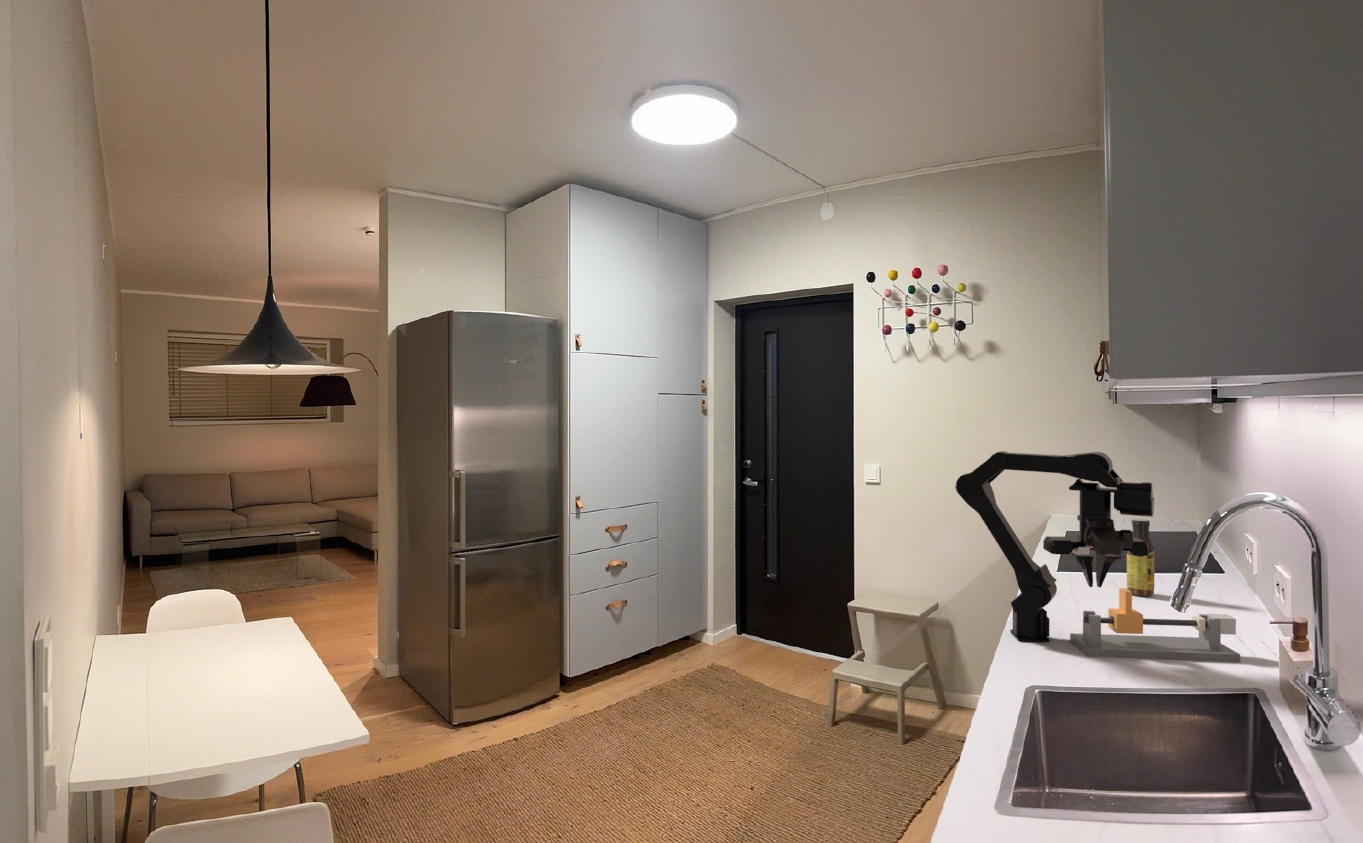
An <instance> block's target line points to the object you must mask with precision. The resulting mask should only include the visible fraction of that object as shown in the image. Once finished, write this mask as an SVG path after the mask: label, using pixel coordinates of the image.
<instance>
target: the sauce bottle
mask: <svg viewBox="0 0 1363 843" xmlns="http://www.w3.org/2000/svg"><path fill="white" fill-rule="evenodd" d="M1131 525H1132V533H1133V538H1138V539H1140V540H1143V541H1145V542H1146V543H1147V544H1148V546H1149V556H1134V555H1132V554H1131V553H1130V552H1129V551H1126V589H1128V590H1129V591H1131V592H1132V596H1138V597H1151V596H1152V597H1153V595H1154V594H1155V593H1154V592H1155V591H1154V590H1155V566H1156V565H1155V549H1154V548H1155V547H1154V546H1153V544H1152V541H1151V538H1150V526H1151V523H1150V520H1149V519H1143V518H1132V519H1131Z"/></svg>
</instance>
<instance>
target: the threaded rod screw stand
mask: <svg viewBox="0 0 1363 843" xmlns="http://www.w3.org/2000/svg"><path fill="white" fill-rule="evenodd" d="M1082 612H1083V614H1082V615H1083V616H1082V633H1073V632H1071V633H1069V634H1070V635H1069V640H1070V642H1071V643H1073V644H1074V645H1075V646H1076V647H1078V649H1079V650H1081V652H1082V653H1084V654H1085V655H1086V656H1087V657H1096V656H1104V657H1103V658H1123V659H1124V658H1125V659H1126V658H1127V659H1154V660H1155V659H1156V660H1157V659H1158V660H1177V661H1179V660H1180V661H1181V660H1182V661H1201V662H1202V661H1206V662H1207V661H1208V662H1229V663H1230V662H1231V663H1232V662H1233V663H1235V662H1236V663H1241V654H1240V653H1239V652H1237V651H1236V650H1234V649H1232V648H1230V647H1228V646H1226V645H1225V644H1223V643H1221V642H1222V641H1221V635H1233V636H1235V635H1236V634H1237V630H1236V629H1237V618H1235V617H1233V616H1231V615H1229V614H1228V613H1227V614H1226V613H1199V614H1198V615H1192V619H1171V618H1170V619H1167V618H1164V619H1163V618H1143V626H1145V625H1146V626H1148V625H1149V626H1173V627H1174V626H1176V627H1177V626H1179V627H1181V626H1182V627H1192V628H1193V629H1195V630H1197V631H1198V637H1191V636H1165V635H1163V636H1160V635H1137V634H1105V633H1104V634H1102V624H1114V618H1108V617H1104V616H1103V617H1102V616H1101V615H1100V614H1096V612H1095V611H1094V610H1083V611H1082Z"/></svg>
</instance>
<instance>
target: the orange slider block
mask: <svg viewBox="0 0 1363 843" xmlns="http://www.w3.org/2000/svg"><path fill="white" fill-rule="evenodd" d="M1118 594H1119V595H1118V598H1119V599H1118V608H1108V610H1107V611H1108V612H1107V614H1108V616H1107V618H1114V624H1108V623H1107V624H1108V629H1110V630H1112V632H1114V633H1115V634H1124V635H1143V634H1144V625H1143V619H1144V615H1143V613H1141V612H1139V611H1138V610H1136V609H1133V595H1132V592H1131V591H1129V590H1128V589H1127V587H1126V588H1125V587H1118Z"/></svg>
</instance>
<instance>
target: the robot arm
mask: <svg viewBox="0 0 1363 843" xmlns="http://www.w3.org/2000/svg"><path fill="white" fill-rule="evenodd" d="M1113 467H1114V466H1113V461H1112V459H1111V458H1110V457H1109V455H1107V454H1106V453H1104V452H1101V451H1092V452H1091V451H1090V452H1081V453H1073V454H1064V455H1060V454H1058V455H1056V454H1041V453H1040V454H1039V453H1037V454H1036V453H1022V452H1021V453H1020V452H1008V451H1005V450H1002V451H997V452H994V453H993V454H991V455H990V457H989V458H988V459H987V460H986V461H985V460H984V462H983V463H982V464H980V465H979V466H978V467H976V468H975V469H973V471H971V472H967V473H965V474H962V475H960V476H959V477H958V478H957V480H956V483H955V491H956V493H957V494H958V495H959V496H960V497H961V499H962V500H963V501H964V502H965V503H966V504H967V506H969V507H970V508H971V509H972V510H974V511H975V513H977V514H978V516H979V517H980V518H981V520H982V522H983V523H984V524H985V526H986V528H987V529H988V531H989V532H990V534H991V535H992V538H993V539H994V540H995V542H996V543H997V545H998V547H999V548H1000V550H1001V551H1002V553H1003V554H1004V556H1005V558H1006V559H1007V561H1008V563H1009V564H1010V566H1011V567H1012V569H1013V571H1014V575H1015V579H1016V583H1017V586H1018V589H1019V591H1020V594H1019V595H1017V596H1016V597H1015V598H1014V599H1013V600H1012V601H1011V602H1010V605H1011V607H1012V629H1010V630H1009V631H1010V634H1012V636H1013V637H1014V638H1015V639H1016V640H1017V641H1018V642H1041V643H1042V642H1043V643H1046V642H1047V643H1049V642H1050V641H1051V640H1050V638H1049V637H1050V618H1049V617H1048V610H1046V609H1044V607H1045V606H1048V605H1049V604H1050V602H1051V601H1053V599H1054V598H1055V596H1056V594H1057V590H1058V588H1057V584H1056V582H1057V579H1056V578H1055V577H1054V576H1053V575H1052V573H1051V571H1050V569H1049V567H1048V565H1047V564H1042V565H1041V566H1040V565H1038V564H1037V563H1036V562H1035V561H1034V560H1033V559H1032V557H1031V556H1030V555H1029V553H1028V552H1027V550H1026V549H1025V547H1024V545H1023V543H1022V542H1021V540H1020V538H1018V536H1017V534H1016V532H1015V531H1014V529H1013V528H1012V526H1011V525H1010V523H1009V522H1008V520H1007V518H1006V517H1005V515H1004V514H1003V513H1002V512H1003V511H1001V509H1000V508H999V506H998V504H997V501H996V497H995V493H994V490H993V487H992V485H991V483H992V482H994V480H996V479H997V477H999V475H1001V474H1002V473H1003V472H1004V471H1005V470H1006V471H1019V472H1020V471H1024V472H1034V473H1035V472H1037V473H1052V474H1062V475H1065V476H1068V477H1072V478H1076V480H1075V482H1073V484H1072V485H1070V486H1068V489H1069V490H1070V491H1077V492H1078V491H1079V514H1077V518H1076V519H1077V521H1079V532H1078V534H1077V536H1076V537H1077V540H1071V539H1069V538H1067V537H1065V536H1053V535H1052V536H1045V538H1044V539H1043V541H1042V542H1043V550H1045V551H1046V552H1048V553H1049V554H1052V555H1071V556H1073V557H1075V560H1076V561H1077V564H1078V565H1079V567H1080V569H1081V571H1082V573H1083V576H1084V579H1085V580H1086V584H1087V585H1088V587H1089V588H1093V585H1094V584H1093V583H1094V576H1093V564H1092V563H1093V560H1094V559H1095V580H1096V587H1097V588H1102V587H1103V583H1105V582H1104V581H1105V579H1106V578H1107V574H1108V572H1109V570H1110V568H1111V566H1112V565H1113V564H1114V563H1115V562H1116V561H1118V560H1122V559H1123V556H1122V554H1123V552H1127V551H1129V552H1130V553H1131V554H1132V555H1134V556H1149V546H1148V544H1147V543H1146V542H1145V541H1143V540H1140V539H1138V538H1133V530H1132V529H1120V530H1116V527H1115V522H1114V519H1113V518H1112V493H1113V509H1114V510H1116V511H1118V512H1119V514H1120V515H1122V516H1123V515H1125V516H1140V517H1148V518H1149V517H1150V518H1151V517H1154V513H1155V512H1154V511H1155V497H1154V492H1153V491H1154V490H1153V483H1152V481H1151V482H1148V481H1147V482H1131V481H1130V482H1129V481H1128V482H1127V481H1124V480H1123V479H1122V478H1121V476H1120V475H1118V473H1117V472H1116V471H1115V470H1114V468H1113ZM1083 480H1085V481H1089V482H1084V481H1083ZM1100 484H1101V485H1102V486H1104V487H1101V485H1100ZM1090 551H1094V552H1095V558H1094V556H1093V555H1091V552H1090Z"/></svg>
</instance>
